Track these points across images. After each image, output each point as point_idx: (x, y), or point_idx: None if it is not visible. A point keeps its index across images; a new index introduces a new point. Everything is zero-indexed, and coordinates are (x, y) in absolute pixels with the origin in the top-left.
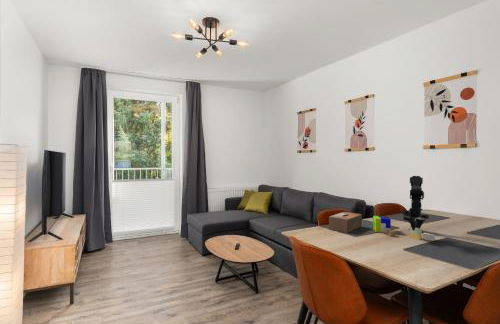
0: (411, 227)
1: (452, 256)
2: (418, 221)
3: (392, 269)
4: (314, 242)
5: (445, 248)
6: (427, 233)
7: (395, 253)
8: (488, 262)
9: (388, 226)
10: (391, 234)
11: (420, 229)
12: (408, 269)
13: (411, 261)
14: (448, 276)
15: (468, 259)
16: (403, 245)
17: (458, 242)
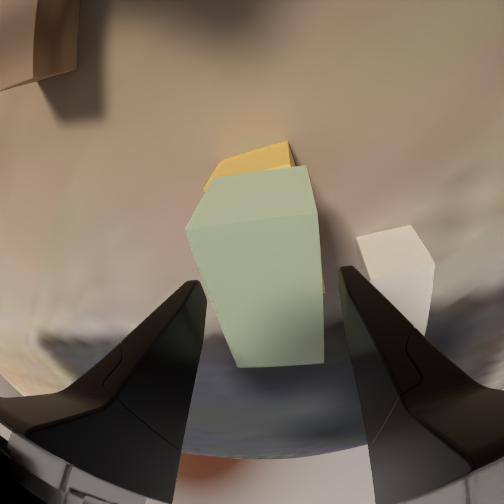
0: (215, 244)
1: (196, 431)
2: (392, 440)
3: (10, 378)
4: None
5: (262, 406)
6: (423, 292)
7: (13, 345)
8: (263, 457)
9: None
10: (27, 82)
11: (291, 359)
12: (35, 394)
13: (47, 387)
14: None
15: (227, 446)
16: (49, 310)
17: (458, 363)
